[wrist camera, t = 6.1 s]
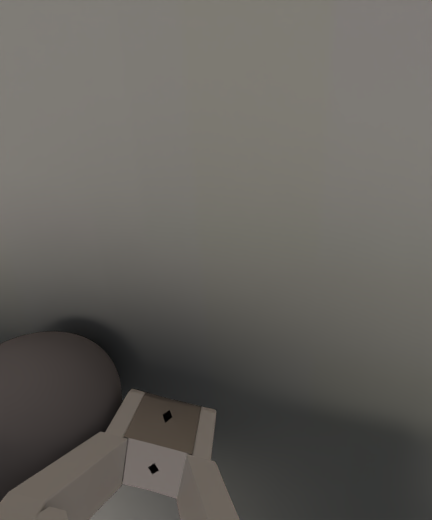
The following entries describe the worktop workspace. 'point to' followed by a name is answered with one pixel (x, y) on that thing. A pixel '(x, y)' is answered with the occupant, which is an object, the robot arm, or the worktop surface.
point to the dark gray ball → (51, 400)
